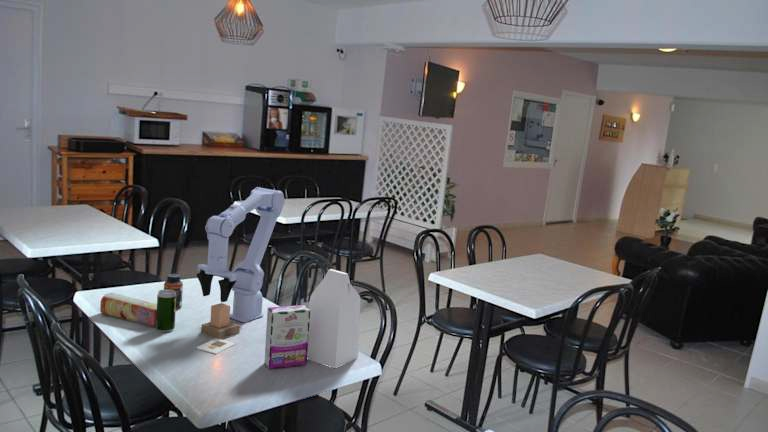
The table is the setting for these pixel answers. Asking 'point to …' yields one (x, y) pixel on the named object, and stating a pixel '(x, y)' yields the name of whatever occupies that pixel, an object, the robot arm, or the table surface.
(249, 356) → the table surface
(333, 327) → the milk
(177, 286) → the supplement bottle
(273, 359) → the candy bar box
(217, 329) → the walnut slab
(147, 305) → the snack package
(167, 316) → the beer can
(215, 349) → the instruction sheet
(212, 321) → the terracotta block
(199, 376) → the table surface
